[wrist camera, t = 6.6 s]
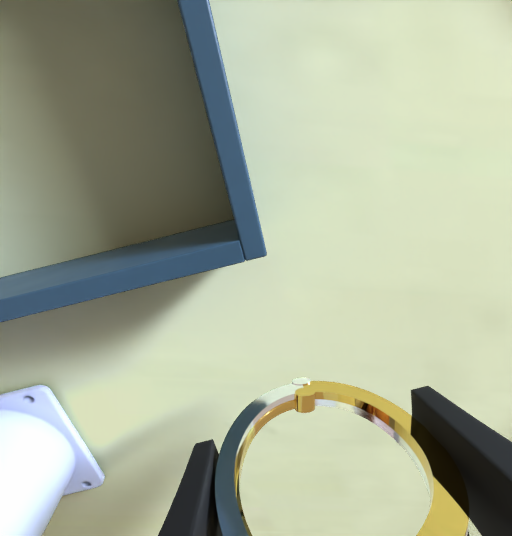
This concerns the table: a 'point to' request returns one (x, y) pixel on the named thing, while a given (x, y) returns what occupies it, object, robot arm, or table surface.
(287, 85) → the table surface
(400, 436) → the ring
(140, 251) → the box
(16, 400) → the robot arm
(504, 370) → the table surface
